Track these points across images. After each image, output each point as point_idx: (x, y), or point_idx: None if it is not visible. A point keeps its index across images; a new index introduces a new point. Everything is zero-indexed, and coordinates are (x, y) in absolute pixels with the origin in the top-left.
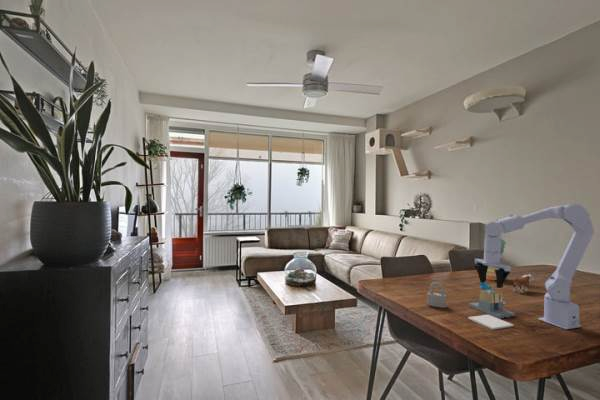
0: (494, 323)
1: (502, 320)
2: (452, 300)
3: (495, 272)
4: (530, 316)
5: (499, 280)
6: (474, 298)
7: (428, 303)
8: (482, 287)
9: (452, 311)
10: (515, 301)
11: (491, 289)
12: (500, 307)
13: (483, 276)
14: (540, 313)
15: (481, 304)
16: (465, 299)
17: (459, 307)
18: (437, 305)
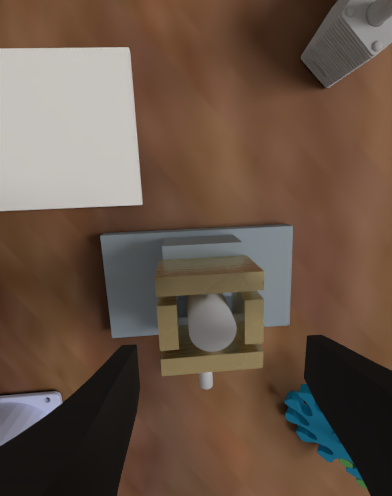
0: (22, 121)
1: (56, 205)
2: (382, 209)
3: (49, 471)
4: None
5: (72, 397)
6: (362, 348)
7: None
8: None
9: (246, 57)
10: (269, 487)
11: None
12: None
13: (343, 403)
14: (124, 462)
15: (217, 239)
16: (368, 292)
17: (285, 156)
18: (332, 7)
